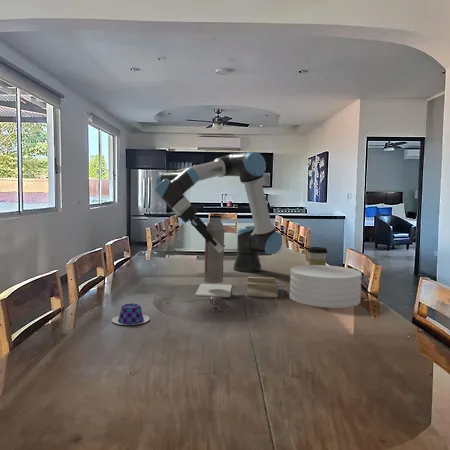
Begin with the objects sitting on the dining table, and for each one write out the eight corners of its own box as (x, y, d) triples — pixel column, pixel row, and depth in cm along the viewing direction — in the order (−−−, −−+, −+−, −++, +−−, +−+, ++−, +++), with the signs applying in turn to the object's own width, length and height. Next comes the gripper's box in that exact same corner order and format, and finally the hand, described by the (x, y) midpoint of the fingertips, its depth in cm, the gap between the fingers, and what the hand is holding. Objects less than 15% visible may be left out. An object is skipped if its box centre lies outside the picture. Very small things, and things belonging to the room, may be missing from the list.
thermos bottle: (204, 283, 176) (206, 215, 174) (203, 279, 184) (205, 214, 182) (223, 283, 177) (225, 216, 175) (222, 279, 185) (223, 215, 183)
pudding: (134, 329, 129) (134, 312, 129) (103, 323, 134) (103, 307, 134) (156, 319, 140) (157, 303, 140) (127, 314, 145) (127, 299, 145)
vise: (247, 288, 188) (247, 276, 187) (281, 289, 187) (281, 278, 187) (247, 296, 173) (247, 284, 173) (283, 297, 172) (284, 285, 172)
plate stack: (361, 294, 181) (362, 268, 180) (359, 311, 155) (360, 280, 154) (295, 288, 190) (296, 263, 189) (283, 303, 164) (284, 273, 163)
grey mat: (200, 285, 191) (200, 283, 191) (231, 286, 191) (231, 284, 191) (195, 295, 172) (195, 294, 172) (229, 297, 171) (229, 295, 171)
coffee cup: (326, 280, 210) (328, 249, 209) (306, 278, 212) (307, 248, 210) (326, 276, 219) (327, 247, 218) (306, 275, 221) (307, 246, 220)
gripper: (182, 215, 190) (217, 252, 190) (174, 217, 169) (214, 259, 169) (194, 203, 189) (230, 240, 189) (188, 204, 168) (227, 246, 169)
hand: (222, 249), depth 179 cm, fingers closed on thermos bottle, 8 cm apart
